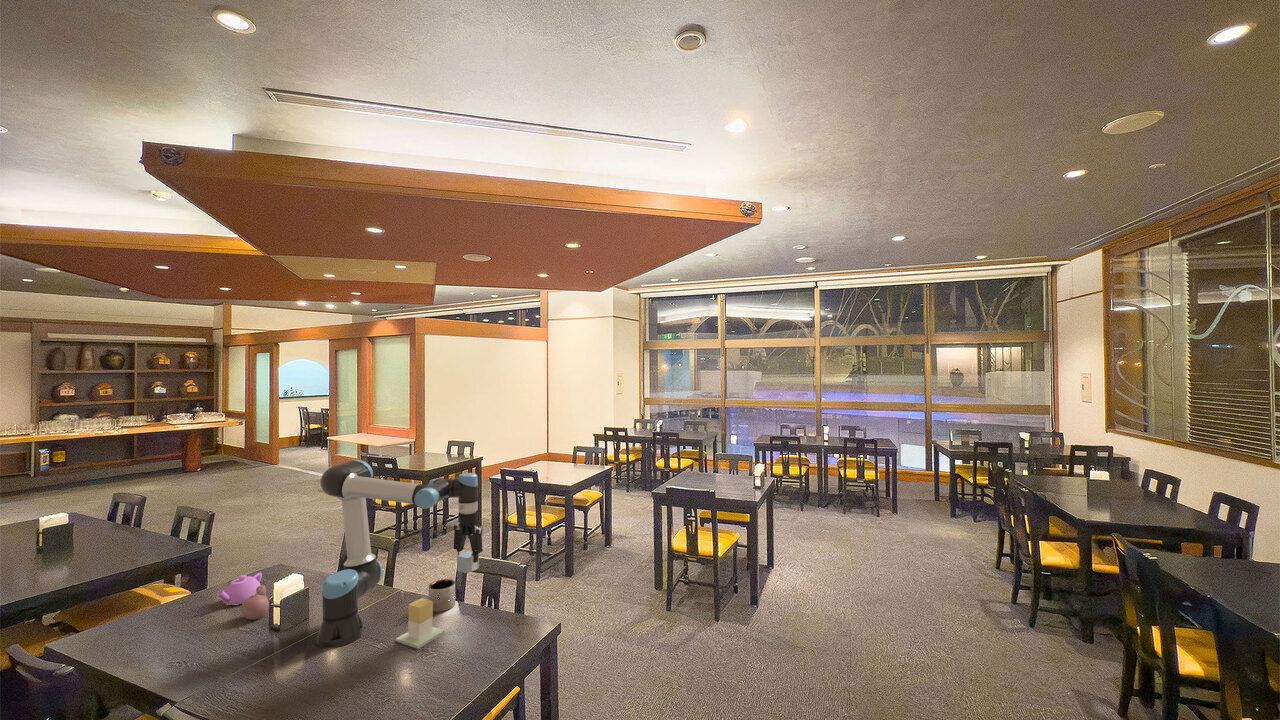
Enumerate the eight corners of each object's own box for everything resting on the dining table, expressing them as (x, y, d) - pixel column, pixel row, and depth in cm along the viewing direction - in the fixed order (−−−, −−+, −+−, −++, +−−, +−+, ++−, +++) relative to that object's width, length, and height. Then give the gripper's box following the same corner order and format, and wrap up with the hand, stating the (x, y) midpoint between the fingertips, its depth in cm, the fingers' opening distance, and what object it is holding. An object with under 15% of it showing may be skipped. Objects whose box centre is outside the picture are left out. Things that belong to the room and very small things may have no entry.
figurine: (254, 611, 208) (254, 582, 208) (274, 614, 205) (274, 585, 205) (232, 621, 199) (232, 592, 199) (253, 624, 196) (253, 594, 197)
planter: (449, 612, 205) (449, 589, 205) (423, 613, 205) (423, 590, 205) (459, 600, 215) (459, 578, 216) (434, 600, 216) (434, 578, 216)
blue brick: (456, 570, 198) (456, 556, 198) (467, 565, 204) (467, 551, 204) (468, 573, 196) (468, 558, 196) (478, 567, 201) (478, 553, 201)
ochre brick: (408, 620, 185) (408, 604, 185) (421, 613, 190) (421, 597, 190) (419, 624, 182) (419, 607, 182) (432, 616, 187) (432, 600, 188)
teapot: (204, 610, 209) (204, 585, 209) (248, 590, 229) (248, 567, 229) (232, 612, 207) (232, 587, 207) (274, 591, 226) (274, 568, 227)
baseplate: (395, 641, 183) (395, 622, 183) (422, 626, 194) (422, 608, 194) (418, 649, 178) (418, 629, 178) (444, 632, 189) (444, 614, 189)
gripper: (443, 511, 201) (443, 567, 200) (479, 517, 193) (478, 576, 192) (457, 506, 207) (457, 561, 207) (492, 512, 199) (492, 569, 199)
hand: (467, 568), depth 200 cm, fingers closed on blue brick, 6 cm apart
